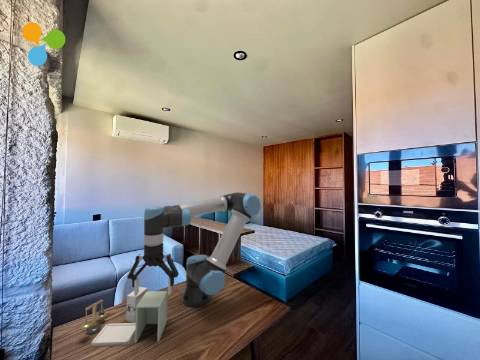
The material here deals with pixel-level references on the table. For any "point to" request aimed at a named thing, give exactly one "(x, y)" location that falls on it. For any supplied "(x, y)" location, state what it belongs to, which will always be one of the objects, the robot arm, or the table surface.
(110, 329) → the dish
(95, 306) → the balance
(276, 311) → the table surface
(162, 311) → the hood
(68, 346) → the table surface
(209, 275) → the robot arm
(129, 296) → the ink box
